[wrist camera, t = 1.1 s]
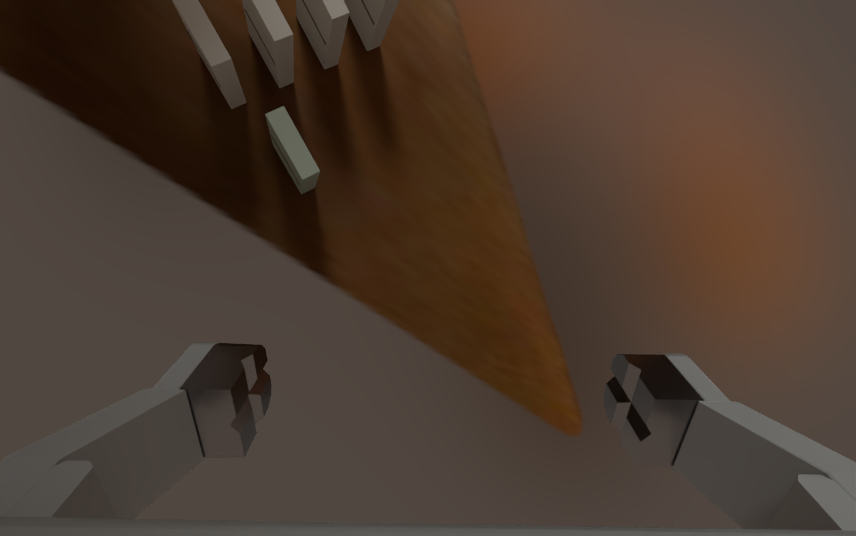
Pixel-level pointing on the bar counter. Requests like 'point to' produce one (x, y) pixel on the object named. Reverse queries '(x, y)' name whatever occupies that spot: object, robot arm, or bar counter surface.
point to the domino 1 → (211, 50)
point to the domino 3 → (292, 150)
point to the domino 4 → (324, 27)
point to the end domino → (371, 19)
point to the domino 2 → (271, 38)
